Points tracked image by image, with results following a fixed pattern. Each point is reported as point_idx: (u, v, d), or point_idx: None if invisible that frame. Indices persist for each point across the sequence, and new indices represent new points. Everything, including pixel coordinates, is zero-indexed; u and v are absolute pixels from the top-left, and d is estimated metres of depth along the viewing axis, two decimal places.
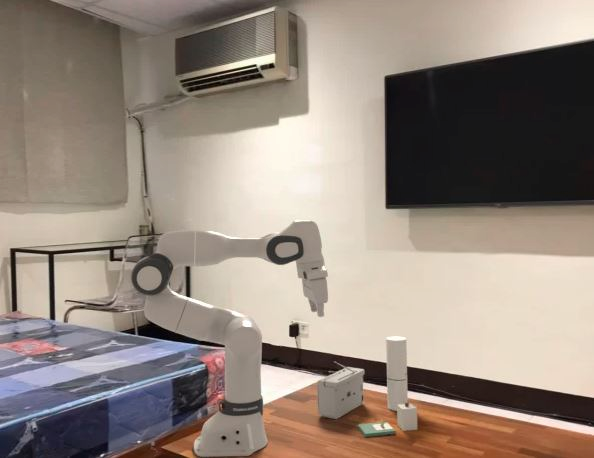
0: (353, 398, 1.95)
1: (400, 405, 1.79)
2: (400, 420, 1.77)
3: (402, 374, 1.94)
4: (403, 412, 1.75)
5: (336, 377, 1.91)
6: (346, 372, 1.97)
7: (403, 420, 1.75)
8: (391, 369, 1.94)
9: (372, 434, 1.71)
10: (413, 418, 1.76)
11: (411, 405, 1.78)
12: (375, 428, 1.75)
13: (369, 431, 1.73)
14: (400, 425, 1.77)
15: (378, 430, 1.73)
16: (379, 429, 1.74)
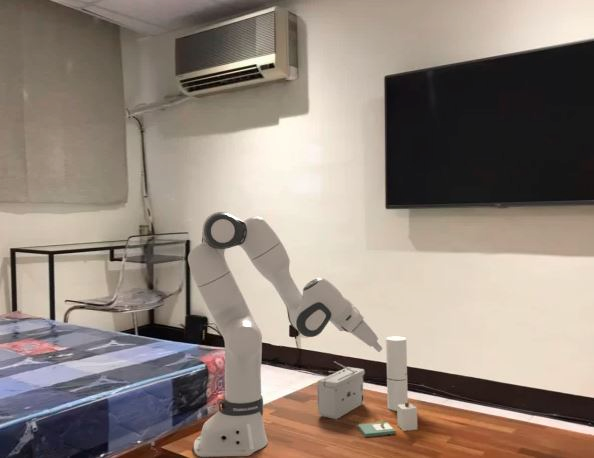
0: (353, 398, 1.95)
1: (400, 405, 1.79)
2: (400, 420, 1.77)
3: (402, 374, 1.94)
4: (403, 412, 1.75)
5: (336, 377, 1.91)
6: (346, 372, 1.97)
7: (403, 420, 1.75)
8: (391, 369, 1.94)
9: (372, 434, 1.71)
10: (413, 418, 1.76)
11: (411, 405, 1.78)
12: (375, 428, 1.75)
13: (369, 431, 1.73)
14: (400, 425, 1.77)
15: (378, 430, 1.73)
16: (379, 429, 1.74)
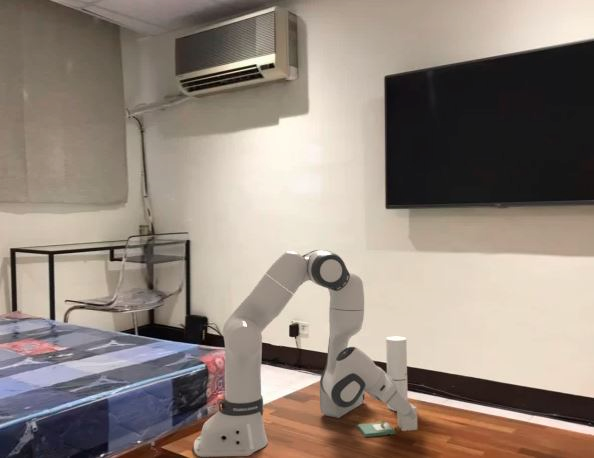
0: None
1: None
2: (400, 420, 1.77)
3: (402, 374, 1.94)
4: None
5: None
6: None
7: (403, 420, 1.75)
8: (391, 369, 1.94)
9: (372, 434, 1.71)
10: None
11: (411, 405, 1.78)
12: (375, 428, 1.75)
13: (369, 431, 1.73)
14: (400, 425, 1.77)
15: (378, 430, 1.73)
16: (379, 429, 1.74)
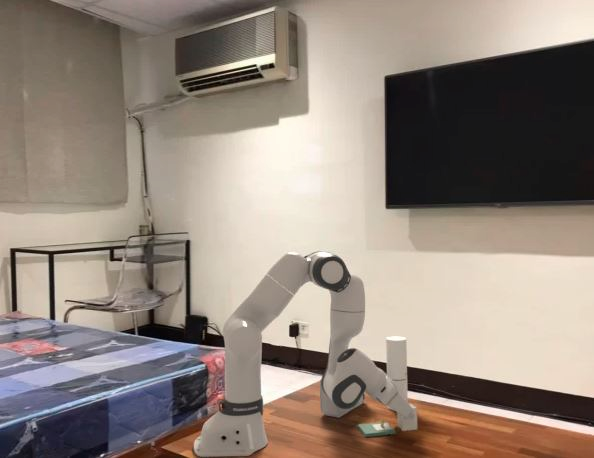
0: None
1: None
2: (400, 420, 1.77)
3: (402, 374, 1.94)
4: None
5: None
6: None
7: (403, 420, 1.75)
8: (391, 369, 1.94)
9: (372, 434, 1.71)
10: (413, 418, 1.76)
11: (411, 405, 1.78)
12: (375, 428, 1.75)
13: (369, 431, 1.73)
14: (400, 425, 1.77)
15: (378, 430, 1.73)
16: (379, 429, 1.74)
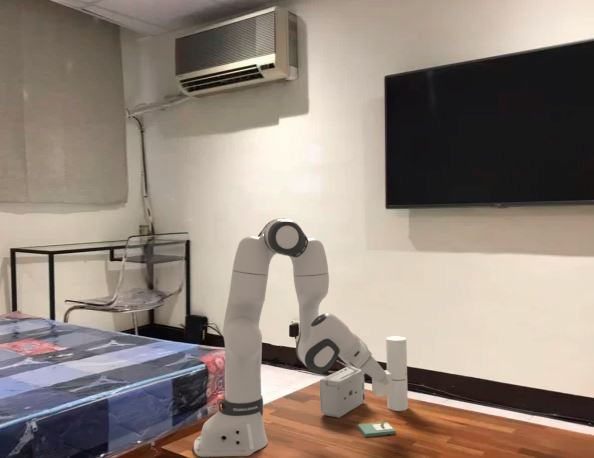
0: (355, 397, 1.97)
1: None
2: (374, 386, 1.75)
3: (402, 374, 1.94)
4: None
5: (339, 376, 1.92)
6: (348, 371, 1.99)
7: (377, 386, 1.73)
8: (391, 369, 1.94)
9: (372, 434, 1.71)
10: (387, 384, 1.74)
11: (386, 371, 1.77)
12: (375, 428, 1.75)
13: (369, 431, 1.73)
14: (375, 392, 1.75)
15: (378, 430, 1.73)
16: (379, 429, 1.74)
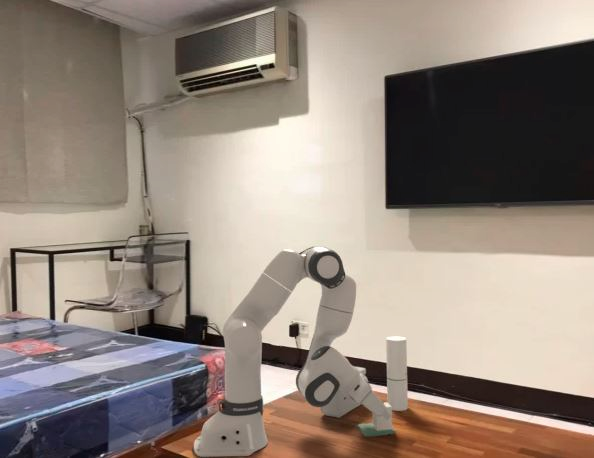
0: None
1: None
2: (375, 419, 1.75)
3: (402, 374, 1.94)
4: None
5: None
6: None
7: (378, 419, 1.74)
8: (391, 369, 1.94)
9: (372, 434, 1.71)
10: None
11: (386, 404, 1.77)
12: (375, 428, 1.75)
13: (369, 431, 1.73)
14: (375, 424, 1.75)
15: (378, 430, 1.73)
16: None
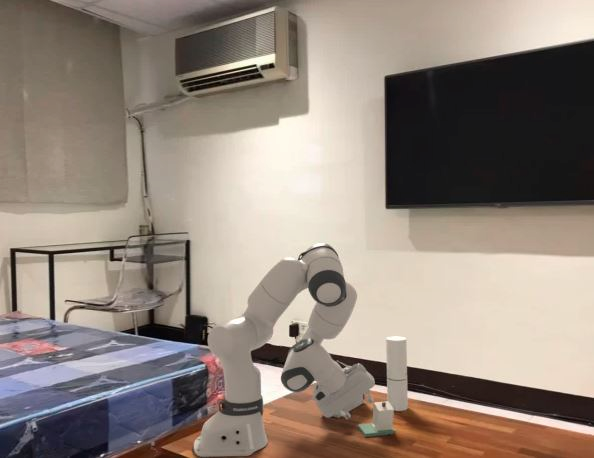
0: None
1: (377, 404, 1.75)
2: (375, 419, 1.74)
3: (402, 374, 1.94)
4: (379, 413, 1.72)
5: None
6: None
7: (379, 420, 1.73)
8: (391, 369, 1.94)
9: (372, 434, 1.71)
10: (389, 418, 1.73)
11: (388, 404, 1.75)
12: (375, 428, 1.75)
13: (369, 431, 1.73)
14: (375, 424, 1.75)
15: (378, 430, 1.73)
16: None
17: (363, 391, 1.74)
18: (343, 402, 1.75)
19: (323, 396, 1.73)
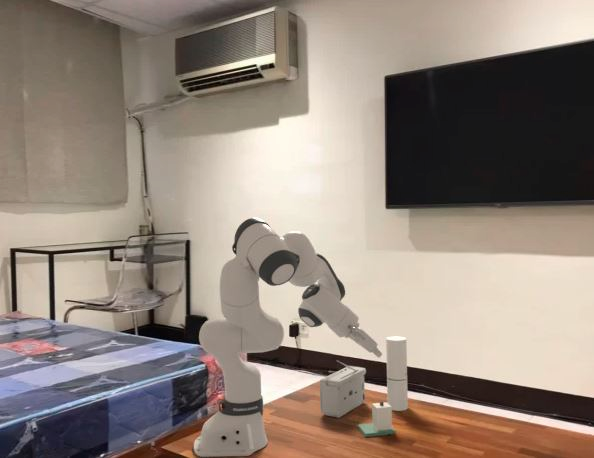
0: (355, 397, 1.97)
1: (375, 404, 1.77)
2: (375, 419, 1.75)
3: (402, 374, 1.94)
4: (377, 411, 1.73)
5: (339, 376, 1.92)
6: (348, 371, 1.99)
7: (378, 419, 1.74)
8: (391, 369, 1.94)
9: (372, 434, 1.71)
10: (388, 417, 1.74)
11: (386, 404, 1.77)
12: (375, 428, 1.75)
13: (369, 431, 1.73)
14: (375, 424, 1.75)
15: (378, 430, 1.73)
16: None
17: (364, 348, 1.69)
18: None
19: None
